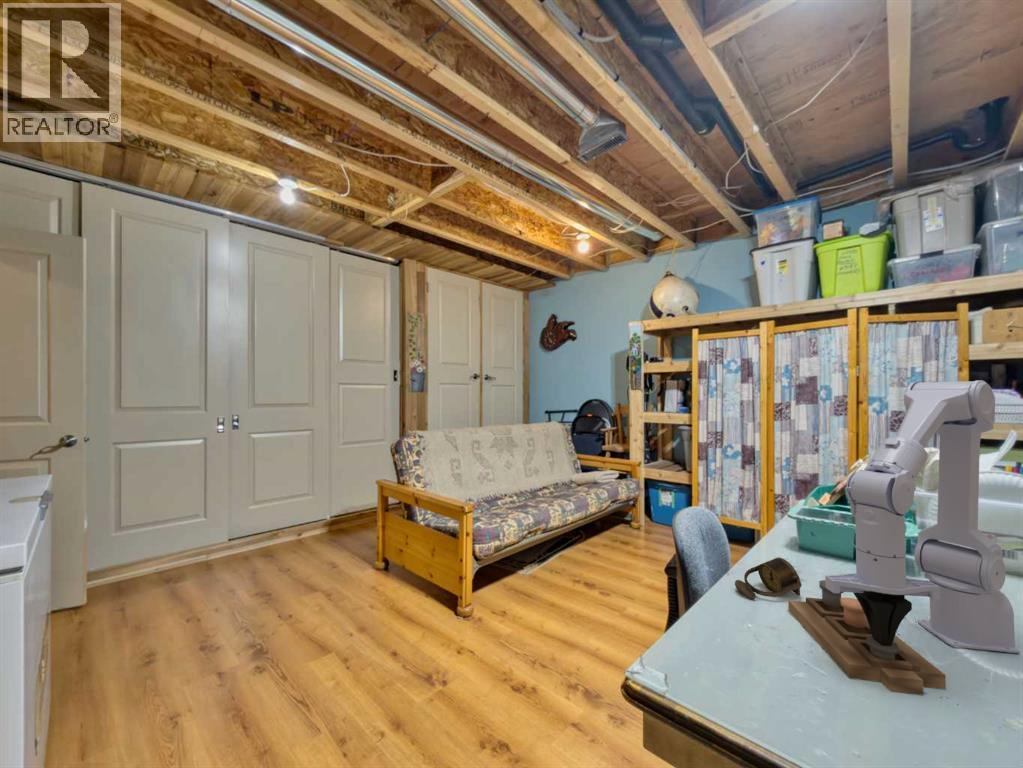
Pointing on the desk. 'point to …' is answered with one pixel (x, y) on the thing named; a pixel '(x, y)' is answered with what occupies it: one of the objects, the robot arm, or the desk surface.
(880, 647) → the grey plug near
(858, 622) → the terracotta plug
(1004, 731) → the desk surface
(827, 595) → the grey plug far
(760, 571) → the brown watering can
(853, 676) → the walnut test board
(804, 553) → the desk surface
